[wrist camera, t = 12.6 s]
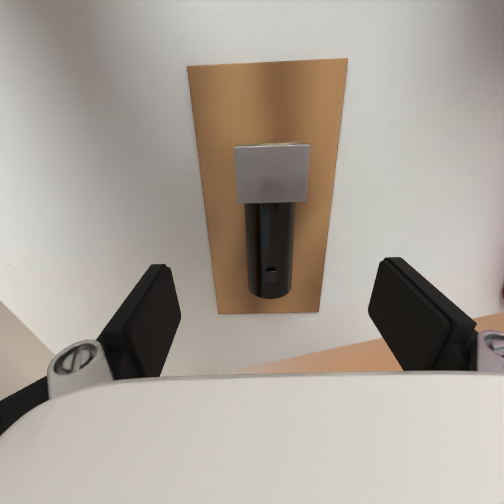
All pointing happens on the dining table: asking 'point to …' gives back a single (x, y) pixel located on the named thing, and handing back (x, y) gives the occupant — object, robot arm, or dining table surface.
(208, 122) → the wooden board
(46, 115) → the dining table surface
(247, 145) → the flashlight
